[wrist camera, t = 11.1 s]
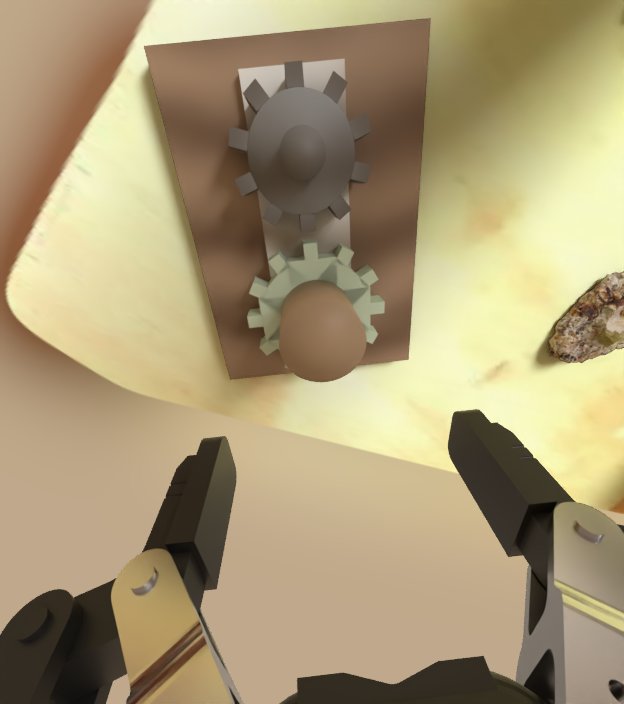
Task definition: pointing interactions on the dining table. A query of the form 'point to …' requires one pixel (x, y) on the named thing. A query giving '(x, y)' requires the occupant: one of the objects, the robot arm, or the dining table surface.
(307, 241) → the planet gear
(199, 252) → the carrier board
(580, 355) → the mineral rock
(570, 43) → the dining table surface
